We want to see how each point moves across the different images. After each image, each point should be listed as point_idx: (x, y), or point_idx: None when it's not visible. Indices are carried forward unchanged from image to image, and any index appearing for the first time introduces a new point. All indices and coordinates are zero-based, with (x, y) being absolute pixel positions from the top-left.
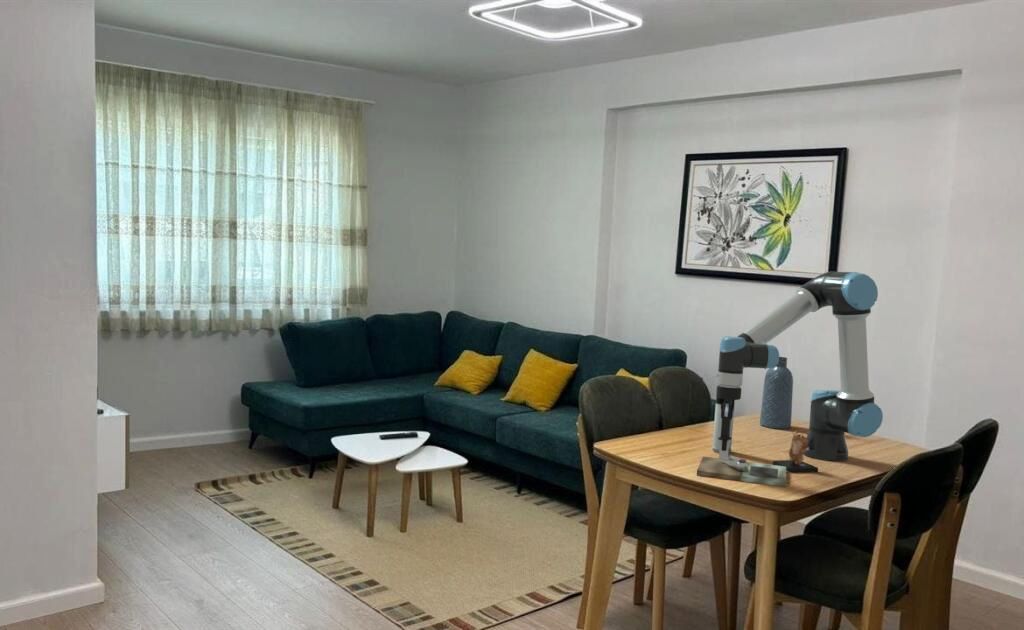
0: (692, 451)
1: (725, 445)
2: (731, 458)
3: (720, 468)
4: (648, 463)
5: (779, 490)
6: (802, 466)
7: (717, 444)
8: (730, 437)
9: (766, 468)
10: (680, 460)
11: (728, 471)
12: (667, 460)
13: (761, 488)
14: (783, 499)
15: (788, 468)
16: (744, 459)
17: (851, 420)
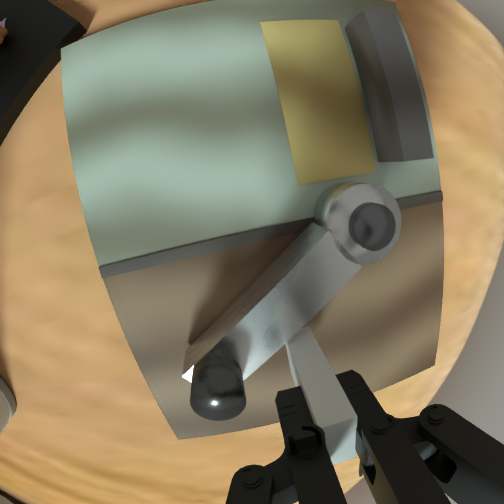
0: (80, 459)
1: (372, 397)
2: (313, 315)
3: (363, 320)
4: (344, 480)
5: (441, 41)
6: (17, 17)
7: (3, 418)
8: (289, 448)
9: (401, 68)
10: (240, 465)
11: (399, 270)
12: None
13: (462, 103)
14: (500, 49)
15: (64, 41)
16: (357, 220)
17: None
